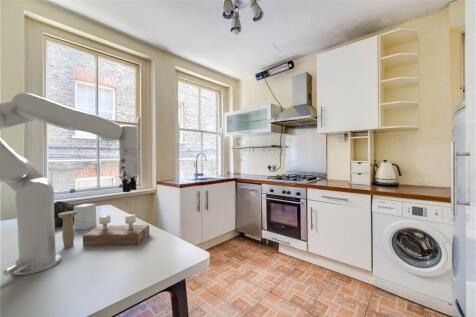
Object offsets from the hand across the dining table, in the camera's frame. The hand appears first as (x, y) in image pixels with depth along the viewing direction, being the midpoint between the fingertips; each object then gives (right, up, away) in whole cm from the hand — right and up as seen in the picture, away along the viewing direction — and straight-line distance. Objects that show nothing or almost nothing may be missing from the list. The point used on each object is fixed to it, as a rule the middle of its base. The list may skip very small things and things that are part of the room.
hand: (129, 190), depth 95 cm
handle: (-24, -24, -5) cm, 35 cm away
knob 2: (0, -19, 0) cm, 19 cm away
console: (-6, -23, 0) cm, 24 cm away
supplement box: (-35, -24, +19) cm, 46 cm away
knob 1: (-12, -20, 0) cm, 23 cm away
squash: (-53, -24, +25) cm, 63 cm away
